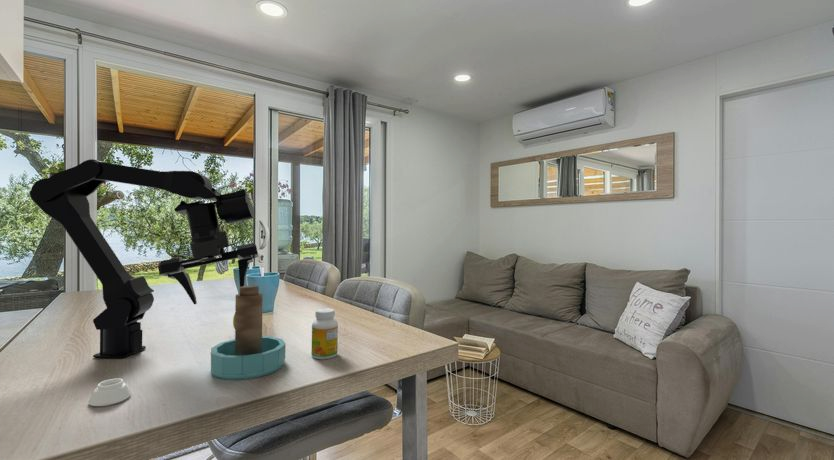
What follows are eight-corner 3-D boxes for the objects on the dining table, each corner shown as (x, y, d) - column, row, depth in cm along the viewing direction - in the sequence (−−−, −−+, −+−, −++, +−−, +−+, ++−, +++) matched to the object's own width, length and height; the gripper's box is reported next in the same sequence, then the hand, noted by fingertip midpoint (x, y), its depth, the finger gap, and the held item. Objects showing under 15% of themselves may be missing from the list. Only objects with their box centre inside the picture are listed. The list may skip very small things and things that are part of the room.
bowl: (195, 379, 67) (196, 356, 67) (232, 354, 80) (232, 335, 80) (268, 380, 67) (268, 358, 67) (293, 355, 80) (293, 336, 80)
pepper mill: (230, 365, 71) (230, 288, 71) (242, 356, 76) (242, 284, 76) (255, 365, 71) (256, 289, 71) (266, 357, 76) (266, 285, 76)
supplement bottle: (306, 355, 80) (307, 309, 80) (328, 349, 84) (328, 306, 84) (320, 362, 76) (321, 314, 76) (342, 355, 80) (343, 310, 80)
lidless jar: (117, 407, 56) (137, 393, 61) (117, 388, 56) (137, 375, 61) (80, 409, 56) (103, 394, 61) (80, 389, 56) (103, 376, 61)
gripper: (143, 230, 72) (159, 311, 70) (248, 212, 79) (264, 285, 78) (159, 239, 82) (172, 310, 80) (251, 223, 89) (265, 287, 88)
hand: (219, 298), depth 81 cm, fingers open, 9 cm apart
